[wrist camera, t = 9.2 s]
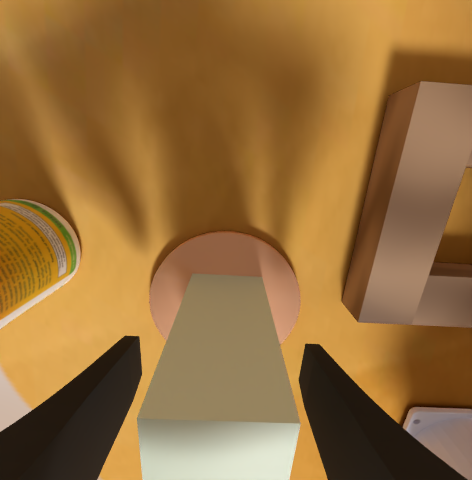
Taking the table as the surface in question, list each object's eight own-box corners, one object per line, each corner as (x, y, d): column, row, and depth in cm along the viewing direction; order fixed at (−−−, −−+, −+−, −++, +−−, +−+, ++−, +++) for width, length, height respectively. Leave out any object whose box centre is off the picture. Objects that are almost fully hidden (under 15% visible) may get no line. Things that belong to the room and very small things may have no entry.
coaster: (287, 360, 16) (289, 368, 15) (155, 355, 16) (152, 362, 15) (308, 235, 13) (311, 238, 13) (149, 226, 13) (145, 229, 12)
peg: (256, 334, 15) (281, 519, 7) (191, 331, 14) (146, 516, 7) (262, 276, 13) (300, 423, 6) (192, 273, 13) (136, 418, 6)
